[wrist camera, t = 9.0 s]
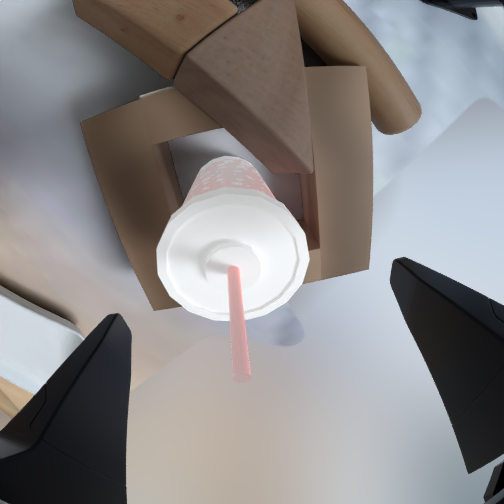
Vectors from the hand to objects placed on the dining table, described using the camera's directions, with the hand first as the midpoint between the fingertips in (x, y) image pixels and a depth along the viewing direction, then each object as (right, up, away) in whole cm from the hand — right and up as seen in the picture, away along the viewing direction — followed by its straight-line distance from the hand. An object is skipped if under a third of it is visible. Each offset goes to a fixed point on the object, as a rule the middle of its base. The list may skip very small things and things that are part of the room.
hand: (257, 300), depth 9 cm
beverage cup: (-2, +6, +10) cm, 12 cm away
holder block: (-1, +6, +10) cm, 12 cm away
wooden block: (-5, +17, -2) cm, 18 cm away
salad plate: (-30, -8, +17) cm, 35 cm away
